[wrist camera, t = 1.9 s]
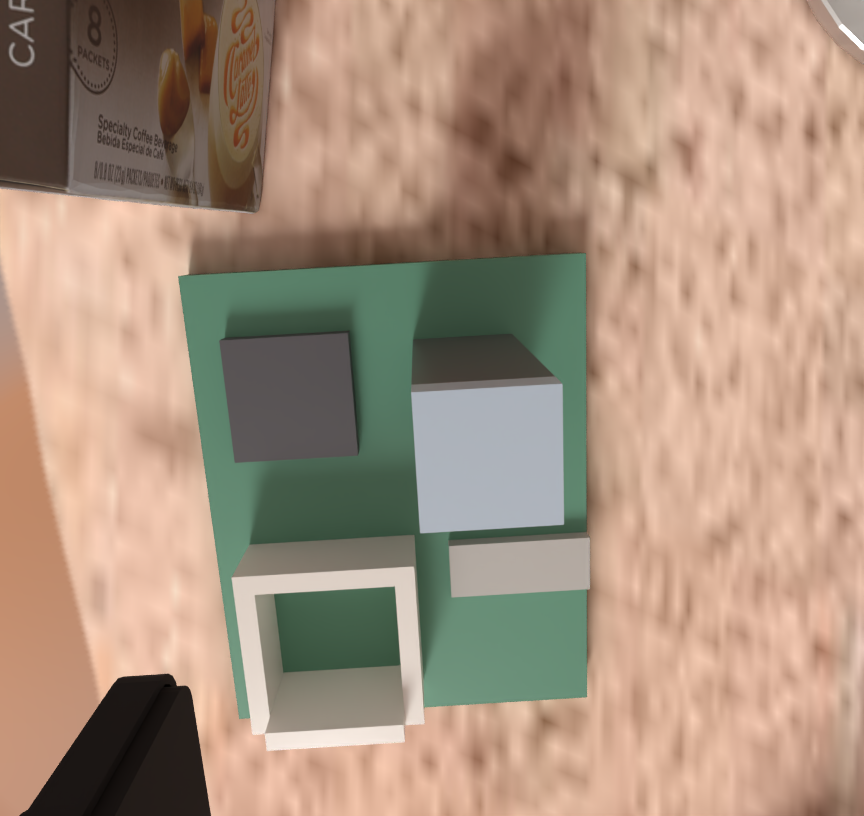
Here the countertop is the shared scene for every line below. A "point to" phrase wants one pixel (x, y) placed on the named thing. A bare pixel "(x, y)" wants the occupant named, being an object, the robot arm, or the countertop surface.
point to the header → (339, 688)
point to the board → (389, 464)
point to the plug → (486, 435)
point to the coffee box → (136, 100)
